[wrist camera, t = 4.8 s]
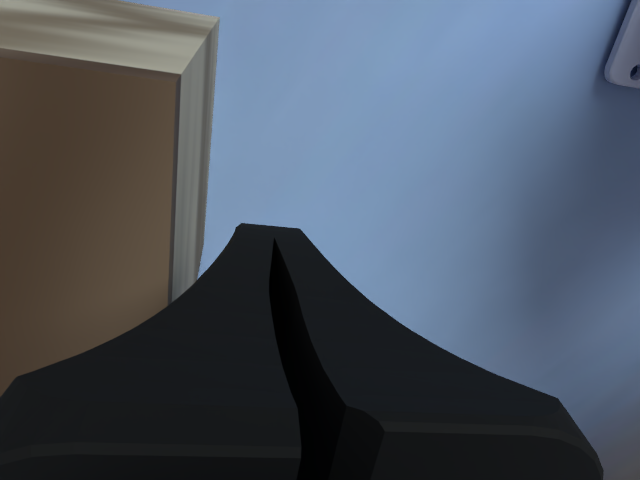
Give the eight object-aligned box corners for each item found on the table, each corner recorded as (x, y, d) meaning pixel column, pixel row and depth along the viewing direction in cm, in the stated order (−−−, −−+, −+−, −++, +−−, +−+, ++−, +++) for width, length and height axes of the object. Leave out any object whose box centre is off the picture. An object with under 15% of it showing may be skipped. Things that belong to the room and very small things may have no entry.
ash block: (219, 17, 16) (176, 82, 7) (203, 244, 20) (161, 472, 11) (45, -12, 15) (-247, 22, 6) (62, 231, 19) (-109, 468, 10)
